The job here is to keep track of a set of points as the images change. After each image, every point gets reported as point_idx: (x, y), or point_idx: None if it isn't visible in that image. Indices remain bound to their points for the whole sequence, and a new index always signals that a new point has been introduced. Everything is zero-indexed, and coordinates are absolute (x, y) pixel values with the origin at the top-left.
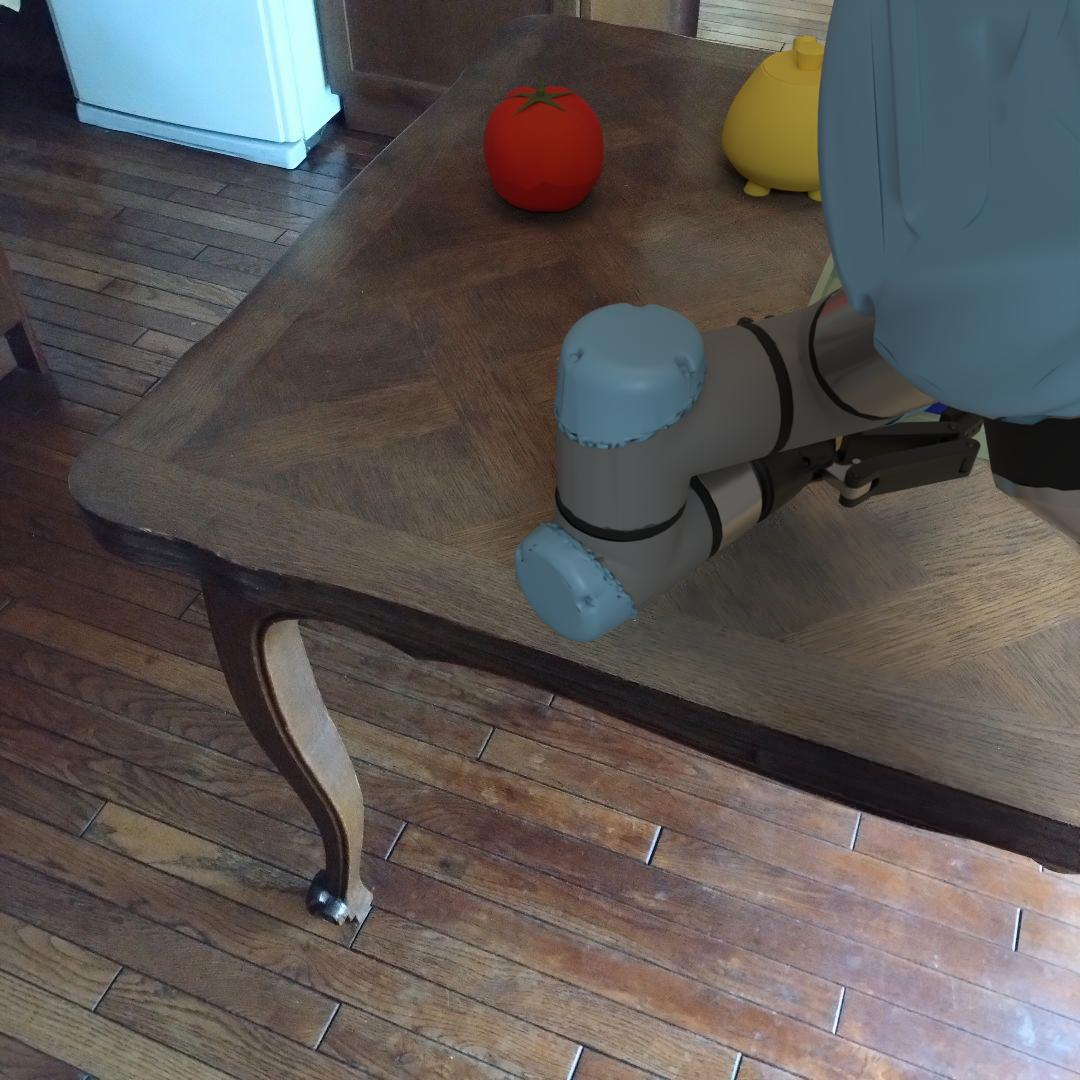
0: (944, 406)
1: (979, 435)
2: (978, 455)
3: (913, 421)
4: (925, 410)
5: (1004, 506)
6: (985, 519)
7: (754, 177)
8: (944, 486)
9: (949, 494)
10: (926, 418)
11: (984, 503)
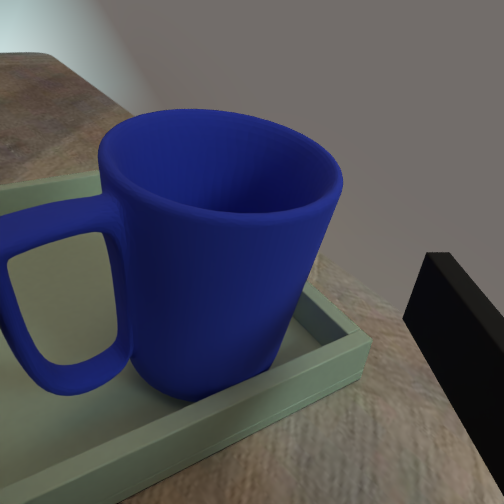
0: (276, 349)
1: (345, 359)
2: (344, 384)
3: (249, 406)
4: (253, 374)
5: (463, 446)
6: (488, 501)
7: None
8: (380, 486)
9: (403, 497)
10: (269, 389)
11: (446, 466)
